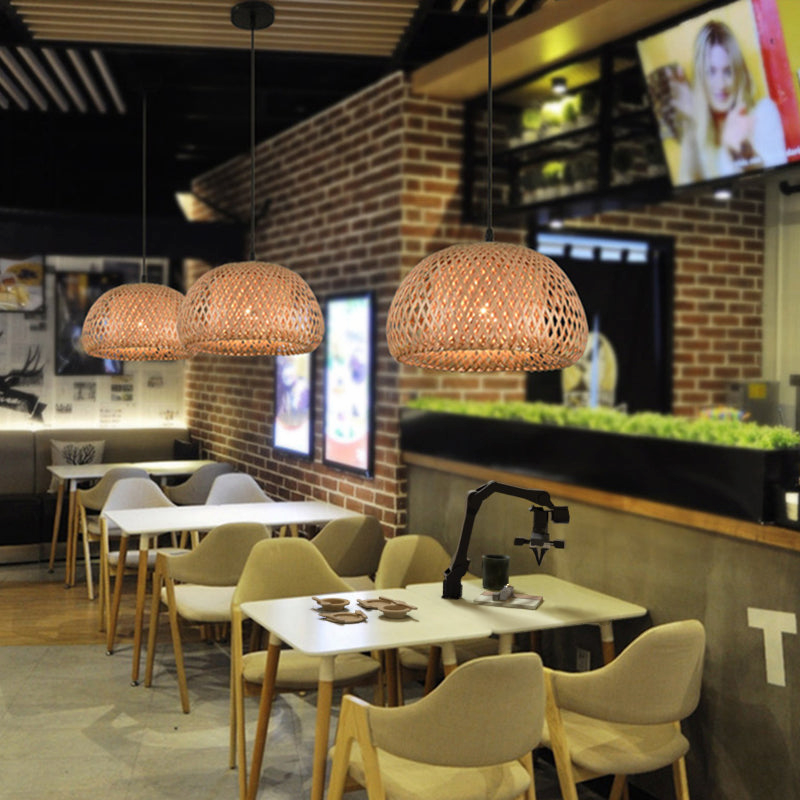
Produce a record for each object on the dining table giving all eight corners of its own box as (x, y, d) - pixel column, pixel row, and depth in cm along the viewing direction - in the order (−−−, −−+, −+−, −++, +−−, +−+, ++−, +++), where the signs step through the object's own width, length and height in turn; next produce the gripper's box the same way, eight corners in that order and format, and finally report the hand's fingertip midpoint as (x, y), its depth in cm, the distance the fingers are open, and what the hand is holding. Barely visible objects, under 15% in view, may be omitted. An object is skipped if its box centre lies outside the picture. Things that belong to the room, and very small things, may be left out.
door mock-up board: (473, 603, 367) (473, 593, 367) (484, 594, 384) (484, 585, 384) (534, 609, 361) (535, 599, 361) (542, 599, 378) (543, 590, 378)
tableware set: (391, 601, 370) (391, 589, 370) (428, 619, 344) (428, 606, 344) (299, 607, 355) (299, 596, 355) (330, 627, 329) (331, 614, 329)
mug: (491, 591, 390) (492, 559, 390) (470, 584, 403) (471, 553, 403) (515, 589, 396) (516, 558, 395) (493, 582, 408) (494, 552, 408)
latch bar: (504, 593, 380) (505, 583, 379) (514, 594, 378) (514, 584, 378) (498, 599, 367) (498, 589, 367) (508, 600, 366) (508, 590, 366)
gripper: (511, 524, 375) (510, 567, 375) (562, 528, 369) (561, 571, 369) (517, 520, 385) (515, 562, 386) (567, 524, 380) (565, 566, 380)
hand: (539, 565), depth 380 cm, fingers closed
